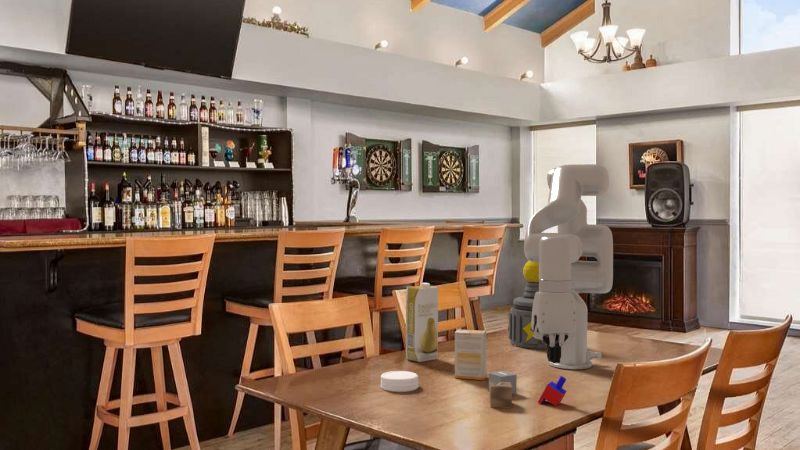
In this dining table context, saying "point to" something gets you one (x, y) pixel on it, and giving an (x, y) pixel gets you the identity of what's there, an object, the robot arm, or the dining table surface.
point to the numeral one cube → (504, 378)
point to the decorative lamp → (525, 311)
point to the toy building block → (553, 392)
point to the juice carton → (422, 323)
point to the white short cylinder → (399, 381)
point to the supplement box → (470, 354)
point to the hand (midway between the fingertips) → (554, 361)
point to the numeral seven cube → (500, 394)
